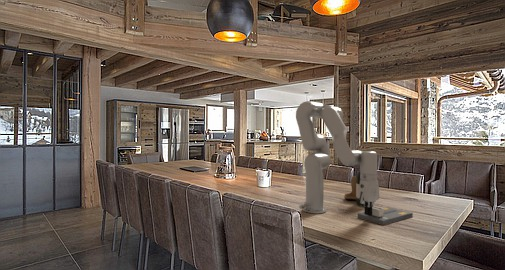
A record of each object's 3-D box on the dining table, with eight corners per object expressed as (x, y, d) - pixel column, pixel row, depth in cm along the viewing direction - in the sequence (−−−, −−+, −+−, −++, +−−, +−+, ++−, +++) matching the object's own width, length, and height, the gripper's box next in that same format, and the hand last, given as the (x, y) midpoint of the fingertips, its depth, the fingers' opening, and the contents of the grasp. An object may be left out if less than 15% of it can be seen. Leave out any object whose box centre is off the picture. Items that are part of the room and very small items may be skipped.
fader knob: (378, 216, 143) (378, 209, 143) (367, 213, 148) (368, 206, 148) (383, 215, 145) (383, 207, 145) (372, 212, 150) (373, 205, 150)
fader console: (383, 225, 138) (383, 220, 138) (357, 217, 150) (357, 213, 150) (412, 216, 152) (412, 212, 152) (387, 210, 164) (387, 206, 164)
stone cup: (368, 198, 193) (369, 175, 193) (370, 202, 181) (370, 178, 181) (344, 196, 197) (344, 174, 197) (344, 200, 186) (344, 176, 186)
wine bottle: (361, 207, 171) (362, 154, 170) (353, 203, 179) (353, 153, 178) (374, 206, 173) (374, 154, 173) (365, 202, 181) (365, 153, 181)
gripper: (365, 179, 136) (365, 219, 136) (385, 176, 144) (384, 214, 144) (351, 177, 142) (351, 215, 142) (371, 174, 150) (371, 210, 150)
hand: (368, 214), depth 143 cm, fingers closed
